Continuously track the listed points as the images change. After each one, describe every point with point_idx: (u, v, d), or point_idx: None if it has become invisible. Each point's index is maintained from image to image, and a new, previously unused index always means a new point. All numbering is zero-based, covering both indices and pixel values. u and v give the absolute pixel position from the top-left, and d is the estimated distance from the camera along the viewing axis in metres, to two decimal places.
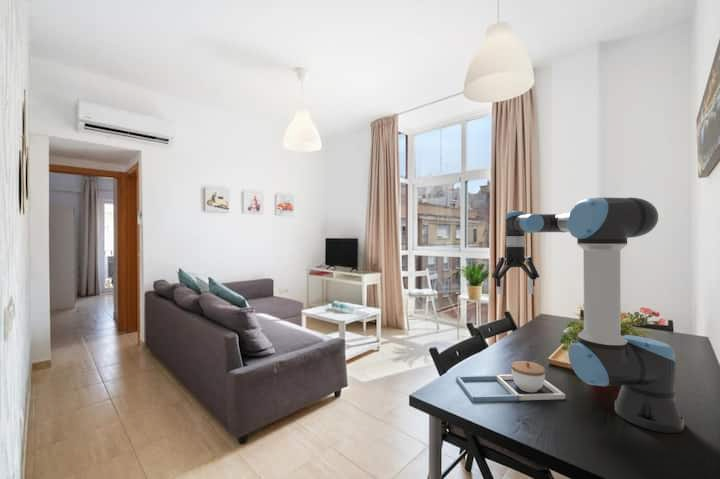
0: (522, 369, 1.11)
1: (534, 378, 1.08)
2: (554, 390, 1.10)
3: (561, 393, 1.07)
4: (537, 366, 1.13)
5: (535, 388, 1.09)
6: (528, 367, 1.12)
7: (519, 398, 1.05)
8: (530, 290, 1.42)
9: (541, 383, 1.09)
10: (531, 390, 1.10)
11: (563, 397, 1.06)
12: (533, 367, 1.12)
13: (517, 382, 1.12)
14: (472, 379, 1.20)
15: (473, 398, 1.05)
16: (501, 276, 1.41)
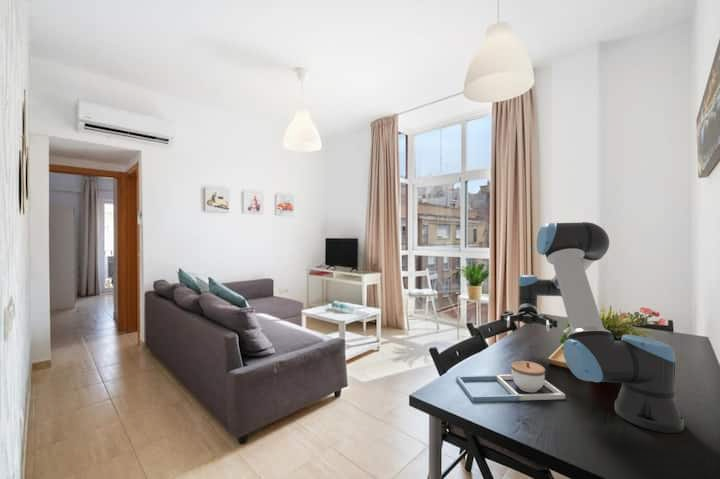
0: (522, 369, 1.11)
1: (534, 378, 1.08)
2: (554, 390, 1.10)
3: (561, 393, 1.07)
4: (537, 366, 1.13)
5: (535, 388, 1.09)
6: (528, 367, 1.12)
7: (519, 398, 1.05)
8: (546, 325, 1.21)
9: (541, 383, 1.09)
10: (531, 390, 1.10)
11: (563, 397, 1.06)
12: (533, 367, 1.12)
13: (517, 382, 1.12)
14: (472, 379, 1.20)
15: (473, 398, 1.05)
16: (508, 316, 1.32)
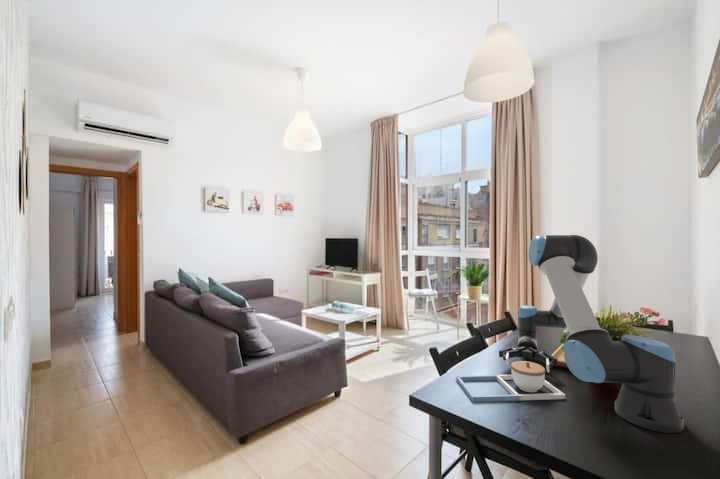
0: (522, 369, 1.11)
1: (534, 378, 1.08)
2: (554, 390, 1.10)
3: (561, 393, 1.07)
4: (537, 366, 1.13)
5: (535, 388, 1.09)
6: (528, 367, 1.12)
7: (519, 398, 1.05)
8: (546, 364, 1.17)
9: (541, 383, 1.09)
10: (531, 390, 1.10)
11: (563, 397, 1.06)
12: (533, 367, 1.12)
13: (517, 382, 1.12)
14: (472, 379, 1.20)
15: (473, 398, 1.05)
16: (507, 351, 1.29)
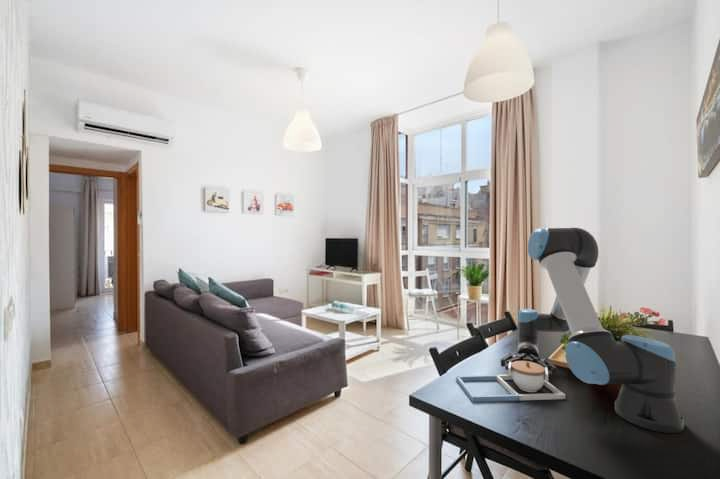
0: (522, 369, 1.11)
1: (534, 378, 1.08)
2: (554, 390, 1.10)
3: (561, 393, 1.07)
4: (537, 366, 1.13)
5: (535, 388, 1.09)
6: (528, 367, 1.12)
7: (519, 398, 1.05)
8: (545, 374, 1.09)
9: (541, 383, 1.09)
10: (531, 390, 1.10)
11: (563, 397, 1.06)
12: (533, 367, 1.12)
13: (517, 382, 1.12)
14: (472, 379, 1.20)
15: (473, 398, 1.05)
16: (510, 360, 1.20)
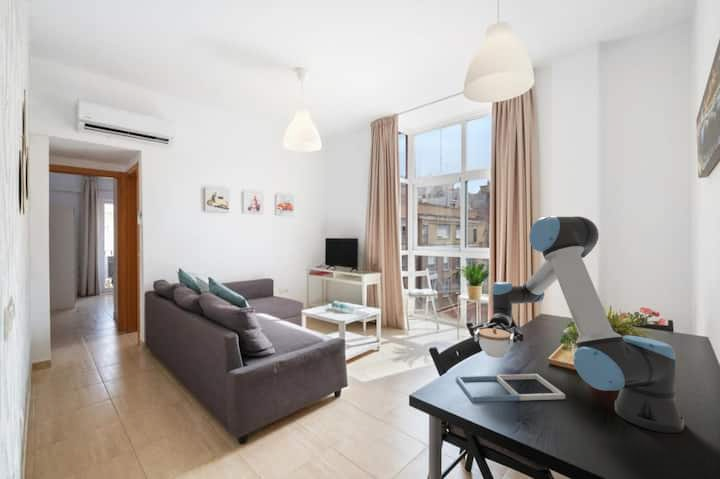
0: (487, 334, 1.12)
1: (499, 342, 1.09)
2: (554, 390, 1.10)
3: (561, 393, 1.07)
4: (503, 332, 1.13)
5: (500, 353, 1.10)
6: (494, 333, 1.13)
7: (519, 398, 1.05)
8: None
9: (506, 348, 1.10)
10: (496, 355, 1.11)
11: (563, 397, 1.06)
12: (500, 333, 1.13)
13: (483, 347, 1.13)
14: (472, 379, 1.20)
15: (473, 398, 1.05)
16: (478, 328, 1.21)
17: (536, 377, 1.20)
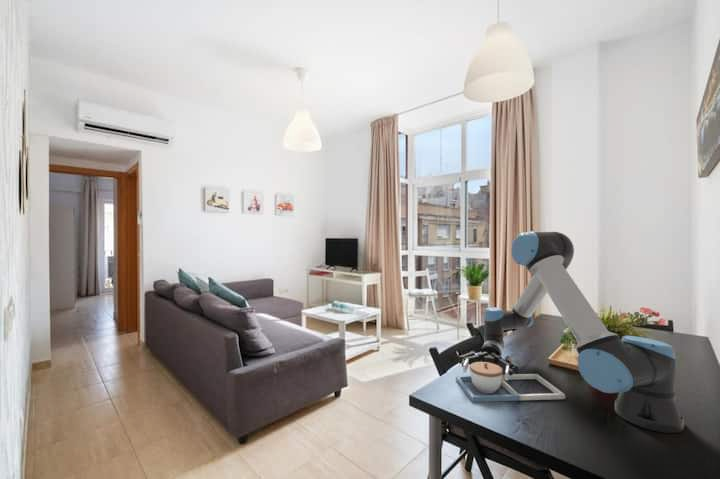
0: (479, 370, 1.11)
1: (490, 379, 1.08)
2: (554, 390, 1.10)
3: (561, 393, 1.07)
4: (494, 367, 1.13)
5: (491, 389, 1.09)
6: (486, 368, 1.12)
7: (519, 398, 1.05)
8: (505, 372, 1.08)
9: (497, 384, 1.09)
10: (488, 391, 1.10)
11: (563, 397, 1.06)
12: (491, 368, 1.12)
13: (474, 383, 1.12)
14: None
15: (473, 398, 1.05)
16: (467, 357, 1.20)
17: (536, 377, 1.20)
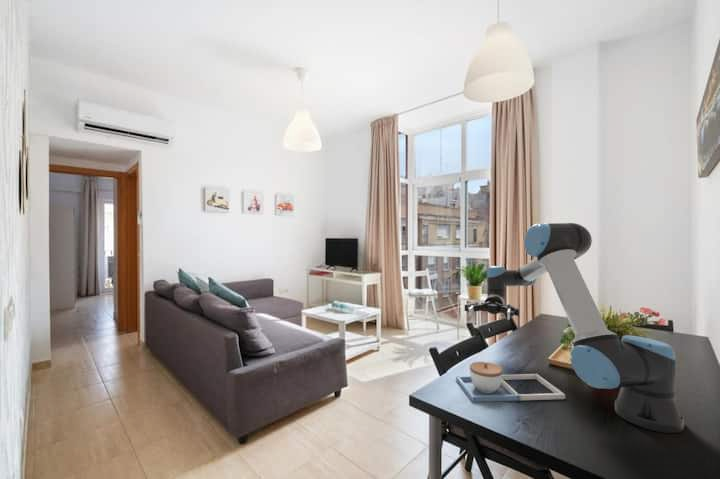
0: (479, 370, 1.11)
1: (490, 379, 1.08)
2: (554, 390, 1.10)
3: (561, 393, 1.07)
4: (494, 367, 1.13)
5: (491, 389, 1.09)
6: (485, 368, 1.12)
7: (519, 398, 1.05)
8: None
9: (497, 384, 1.09)
10: (488, 391, 1.10)
11: (563, 397, 1.06)
12: (491, 368, 1.12)
13: (474, 383, 1.12)
14: None
15: (473, 398, 1.05)
16: (472, 305, 1.32)
17: (536, 377, 1.20)
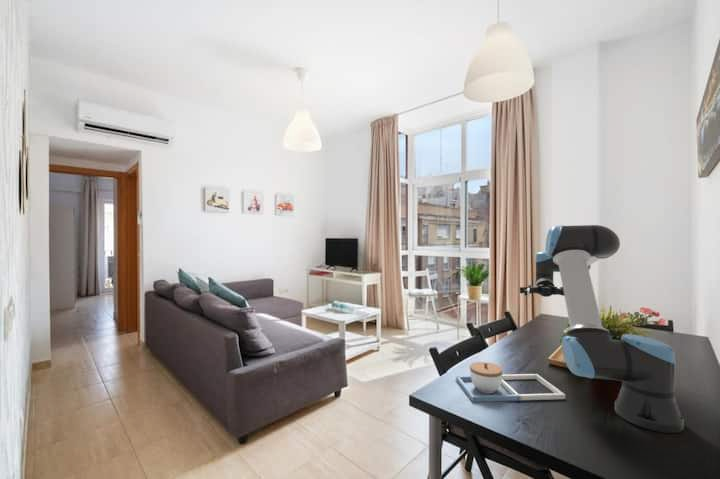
0: (479, 370, 1.11)
1: (490, 379, 1.08)
2: (554, 390, 1.10)
3: (561, 393, 1.07)
4: (494, 367, 1.13)
5: (491, 389, 1.09)
6: (486, 368, 1.12)
7: (519, 398, 1.05)
8: None
9: (497, 384, 1.09)
10: (488, 391, 1.10)
11: (563, 397, 1.06)
12: (491, 368, 1.12)
13: (474, 383, 1.12)
14: None
15: (473, 398, 1.05)
16: (528, 287, 1.39)
17: (536, 377, 1.20)
